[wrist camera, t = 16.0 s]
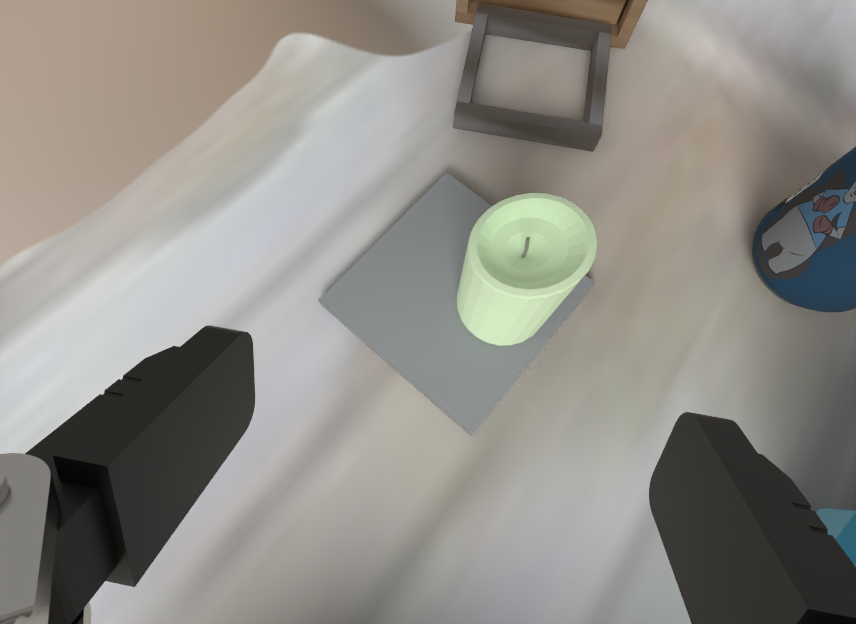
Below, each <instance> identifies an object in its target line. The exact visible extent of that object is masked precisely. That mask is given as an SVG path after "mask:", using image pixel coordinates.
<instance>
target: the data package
mask: <svg viewBox="0 0 856 624" xmlns="http://www.w3.org/2000/svg"><path fill="white" fill-rule="evenodd" d="M816 514H817V515H818V516H819V518H820V519H821V520H822V522H823V523H824V524H825V526H826V527H827V529H828V531H827V532H828V535H833V537H834V538H835V539H836V541H837V542H838V544H839V545H840V546H841V548H842V549H843V550H844V552H845V553H846V554H847V556H848V557H849V558H850V560H851V561H852V563H853V564H854V565H855V567H856V510H845V509H834V508H821V509H818V510H817V511H816Z"/></svg>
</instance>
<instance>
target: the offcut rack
mask: <svg viewBox="0 0 856 624" xmlns="http://www.w3.org/2000/svg"><path fill="white" fill-rule="evenodd" d="M647 1H648V0H457V2H456V16H455V22H461V23H466V24H473V29H472V34H471V38H470V43H469V48H468V52H467V57H466V62H465V66H464V71H463V76H462V80H461V85H460V90H459V94H458V99H457V103H456V108H455V115H454V125H453V128H458V129H464V130H470V131H476V132H482V133H488V134H493V135H499V136H505V137H511V138H517V139H523V140H529V141H535V142H541V143H547V144H553V145H559V146H565V147H570V148H576V149H582V150H588V151H593V150H594V149H595V147H596V145H597V143H598V141H599V139H600V137H601V134H602V123H603V113H604V103H605V92H606V82H607V71H608V61H609V50H610V46H611V47H618V48H624V49H625V47H626V44H627V42H628V40H629V38H630V36H631V34H632V32H633V30H634V28H635V26H636V24H637V21H638V19H639V17H640V15H641V13H642V11H643V9H644V7H645V5H646V3H647ZM485 34H491V35H497V36H503V37H509V38H516V39H522V40H528V41H535V42H541V43H547V44H553V45H560V46H566V47H572V48H579V49H585V50H591V60H590V69H589V78H588V87H587V96H586V105H585V114H584V122H580V121H574V120H568V119H562V118H556V117H550V116H544V115H538V114H532V113H526V112H520V111H514V110H508V109H502V108H496V107H490V106H483V105H477V104H471V100H472V95H473V90H474V85H475V80H476V75H477V70H478V65H479V61H480V56H481V51H482V46H483V41H484V36H485Z"/></svg>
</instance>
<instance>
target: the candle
mask: <svg viewBox="0 0 856 624" xmlns="http://www.w3.org/2000/svg"><path fill="white" fill-rule="evenodd" d="M597 244H598V240H597V235H596V230H595V227H594V225H593V223H592V222H591V220H590V218H589V217H588V215H587V214H586V213H585V212H584V211H583V210H582V209H581V208H580V207H578V206H577V205H576V204H574V203H572V202H570V201H568V200H567V199H565V198H563V197H559V196H555V195H551V194H546V193H527V194H521V195H515V196H512V197H510V198H507V199H504V200H502V201H500V202H498V203H497V204H495V205H494V206H492V207H490V208H489V209H488V210H487V211H486V212H485V213H484V214H483V215H482V216H481V217H480V218H479V219H478V220H477V222H476V224H475V225H474V227H473V229H472V231H471V233H470V237H469V242H468V246H467V251H466V255H465V260H464V265H463V270H462V274H461V279H460V284H459V288H458V293H457V309H458V312H459V315H460V318H461V320H462V322H463V323H464V325H465V326H466V328H467V329H468V330H469V331H470V332H471V333H472V334H473V335H474V336H476V337H477V338H479V339H481V340H483V341H485V342H487V343H490V344H494V345H499V346H506V345H514V344H518V343H521V342H524V341H525V340H527V339H529V338H530V337H532V336H533V335H534V334H535V333H536V332H537V331H538V330H539V328H540V327H541V326H542V325H543V324H544V323H545V321H546V320H547V319H548V318H549V317H550V316H551V314H552V313H553V312H554V311H555V310H556V308H557V307H558V306H559V305H560V304H561V303H562V301H563V300H564V299H565V298H566V297H567V296H568V294H569V293H570V292H571V291H572V290H573V288H574V287H575V286H576V285H577V284H578V283H579V281H580V280H581V279H582V278H583V277H584V276H585V274H586V273H587V272H588V271H589V269H590V267H591V265H592V263H593V261H594V259H595V257H596V252H597Z"/></svg>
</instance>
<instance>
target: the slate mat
mask: <svg viewBox="0 0 856 624" xmlns="http://www.w3.org/2000/svg"><path fill="white" fill-rule="evenodd" d="M490 207H492V205H490V204H489V203H488V202H486V201H485V200H484V199H482V198H481V197H480V196H478V195H477V194H476V193H474V192H473V191H472V190H470V189H469V188H468V187H466V186H465V185H464V184H462V183H461V182H460V181H458V180H457V179H456V178H454V177H453V176H452V175H450V174H449V173H448V172H446V173H445V174H444V175H443V176H442V177H441V178H440V179H439V180H438V181H437V182H436V183H435V184H434V185H433V186H432V187H431V188H430V189H429V190H428V191H427V192H426V193H425V194H424V195H423V196H422V197H421V198H420V199H419V200H418V201H417V202H416V203H415V204H414V205H413V206H412V207H411V208H410V209H409V210H408V211H407V212H406V213H405V214H404V215H403V216H402V217H401V218H400V219H399V220H398V221H397V222H396V223H395V224H394V225H393V226H392V227H391V228H390V229H389V230H388V231H387V232H386V233H385V234H384V235H383V236H382V237H381V238H380V239H379V240H378V241H377V242H376V243H375V244H374V245H373V246H372V247H371V248H370V249H369V250H368V251H367V252H366V253H365V254H364V255H363V256H362V257H361V258H360V259H359V260H358V261H357V262H356V263H355V264H354V265H353V266H352V267H351V268H350V269H349V270H348V271H347V272H346V273H345V274H344V275H343V276H342V277H341V278H340V279H339V280H338V281H337V282H336V283H335V284H334V285H333V286H332V287H331V288H330V289H329V290H328V291H327V292H326V293H325V294H324V295H323V296H322V297H321V298H319V299H318V301H319V302H320V304H321V305H322V306H323V307H324V308H325V309H327V310H328V311H329V312H330V313H331V314H332V315H333V316H335V317H336V318H337V319H338V320H339V321H340V322H341V323H343V324H344V325H345V326H346V327H347V328H348V329H349V330H351V331H352V332H353V333H354V334H355V335H356V336H357V337H359V338H360V339H361V340H362V341H363V342H364V343H365V344H367V345H368V346H369V347H370V348H371V349H372V350H373V351H375V352H376V353H377V354H378V355H379V356H380V357H381V358H383V359H384V360H385V361H386V362H387V363H388V364H389V365H391V366H392V367H393V368H394V369H395V370H396V371H397V372H399V373H400V374H401V375H402V376H403V377H404V378H405V379H407V380H408V381H409V382H410V383H411V384H412V385H413V386H415V387H416V388H417V389H418V390H419V391H420V392H421V393H423V394H424V395H425V396H426V397H427V398H428V399H430V400H431V401H432V402H433V403H434V404H435V405H436V406H438V407H439V408H440V409H441V410H442V411H443V412H444V413H446V414H447V415H448V416H449V417H450V418H451V419H452V420H454V421H455V422H456V423H457V424H458V425H459V426H460V427H462V428H463V429H464V430H465V431H466V432H467V433H468V434H470V435H472V434H473V432H474V431H475V430H476V429H477V428H478V426H479V425H480V424H481V423H482V421H483V420H484V419H485V418H486V417H487V415H488V414H489V413H490V412H491V410H492V409H493V408H494V407H495V405H496V404H497V403H498V402H499V401H500V399H501V398H502V397H503V396H504V394H505V393H506V392H507V391H508V390H509V388H510V387H511V386H512V385H513V383H514V382H515V381H516V380H517V378H518V377H519V376H520V375H521V374H522V372H523V371H524V370H525V369H526V367H527V366H528V365H529V364H530V363H531V361H532V360H533V359H534V358H535V356H536V355H537V354H538V353H539V351H540V350H541V349H542V348H543V347H544V345H545V344H546V343H547V342H548V340H549V339H550V338H551V337H552V336H553V334H554V333H555V332H556V331H557V329H558V328H559V327H560V326H561V325H562V323H563V322H564V321H565V320H566V318H567V317H568V316H569V315H570V313H571V312H572V311H573V310H574V309H575V307H576V306H577V305H578V304H579V302H580V301H581V300H582V299H583V298H584V296H585V295H586V294H587V293H588V291H589V290H590V289H591V288H592V286H593V285H594V284H595V282H594V281H593V280H591V279H590V278H589V277H587V276H586V275H585V276H584V277H583V278H582V279H581V280H580V281H579V283H578V284H577V285H576V286H575V287H574V288H573V290H572V291H571V292H570V293H569V294H568V296H567V297H566V298H565V299H564V300H563V301H562V303H561V304H560V305H559V306H558V307H557V308H556V310H555V311H554V312H553V313H552V314H551V316H550V317H549V318H548V319H547V320H546V321H545V323H544V324H543V325H542V326H541V327H540V328H539V330H538V331H537V332H536V333H535V334H534V335H533V336H532V337H530V338H529V339H527V340H525V341H524V342H521V343H518V344H514V345H506V346H499V345H494V344H490V343H487V342H485V341H483V340H481V339H479V338H477V337H476V336H474V335H473V334H472V333H471V332H470V331H469V330H468V329H467V328H466V326H465V325H464V323H463V322H462V320H461V318H460V315H459V312H458V309H457V293H458V288H459V284H460V279H461V274H462V270H463V265H464V260H465V255H466V251H467V246H468V242H469V237H470V233H471V231H472V229H473V227H474V225H475V224H476V222H477V220H478V219H479V218H480V217H481V216H482V215H483V214H484V213H485V212H486V211H487V210H488V209H489V208H490Z"/></svg>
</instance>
